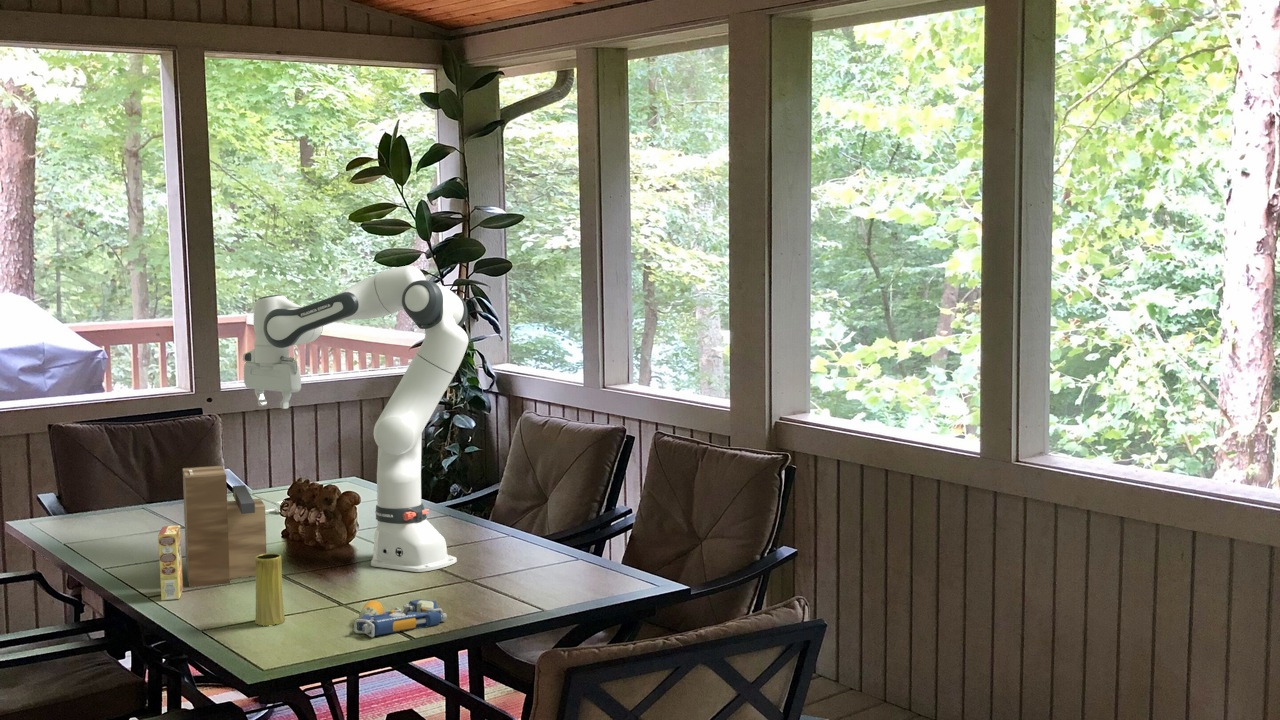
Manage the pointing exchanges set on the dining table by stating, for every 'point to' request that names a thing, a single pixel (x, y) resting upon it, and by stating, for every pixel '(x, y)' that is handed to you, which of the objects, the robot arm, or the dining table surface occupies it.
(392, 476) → the robot arm
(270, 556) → the vase
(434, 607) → the toy blaster gun
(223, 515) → the stand
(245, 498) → the bar
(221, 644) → the dining table surface
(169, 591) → the candy box
